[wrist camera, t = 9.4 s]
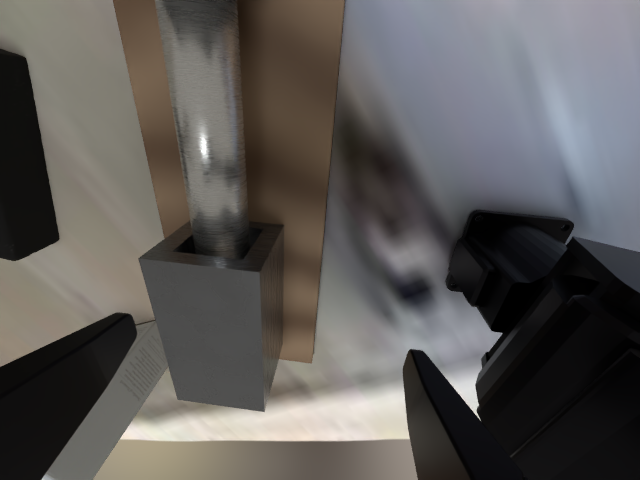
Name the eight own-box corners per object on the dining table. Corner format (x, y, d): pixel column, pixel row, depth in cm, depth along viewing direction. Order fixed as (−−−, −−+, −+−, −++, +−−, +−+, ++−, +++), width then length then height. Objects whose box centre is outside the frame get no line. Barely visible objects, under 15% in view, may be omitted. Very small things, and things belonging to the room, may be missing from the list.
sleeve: (282, 344, 24) (264, 411, 19) (214, 335, 25) (177, 399, 19) (284, 224, 19) (259, 272, 14) (196, 215, 19) (138, 258, 14)
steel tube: (273, 264, 20) (251, 312, 15) (208, 256, 20) (167, 301, 16) (270, -194, 10) (208, -430, 6) (146, -198, 11) (-9, -429, 6)
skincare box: (137, 358, 29) (15, 506, 18) (111, 330, 27) (-39, 475, 17) (183, 348, 28) (80, 502, 17) (158, 318, 26) (27, 468, 15)
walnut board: (313, 354, 26) (311, 363, 25) (193, 338, 27) (188, 347, 26) (371, -292, 10) (373, -330, 9) (66, -296, 11) (40, -332, 10)
